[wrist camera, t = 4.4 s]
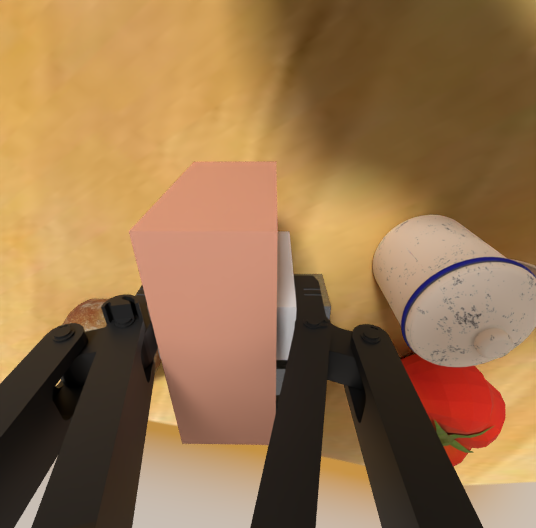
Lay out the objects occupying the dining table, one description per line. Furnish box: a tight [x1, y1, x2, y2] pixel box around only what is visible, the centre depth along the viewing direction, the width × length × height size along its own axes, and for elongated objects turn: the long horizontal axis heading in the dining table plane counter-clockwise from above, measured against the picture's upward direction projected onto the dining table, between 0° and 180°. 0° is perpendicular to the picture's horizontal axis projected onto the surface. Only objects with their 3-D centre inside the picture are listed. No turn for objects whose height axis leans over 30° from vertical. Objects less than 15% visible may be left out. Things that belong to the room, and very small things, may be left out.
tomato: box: [401, 354, 505, 467], centre depth 33 cm, size 14×13×9 cm
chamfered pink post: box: [129, 162, 278, 445], centre depth 16 cm, size 10×4×11 cm, turn 0°
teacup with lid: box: [373, 215, 536, 367], centre depth 24 cm, size 12×9×12 cm
